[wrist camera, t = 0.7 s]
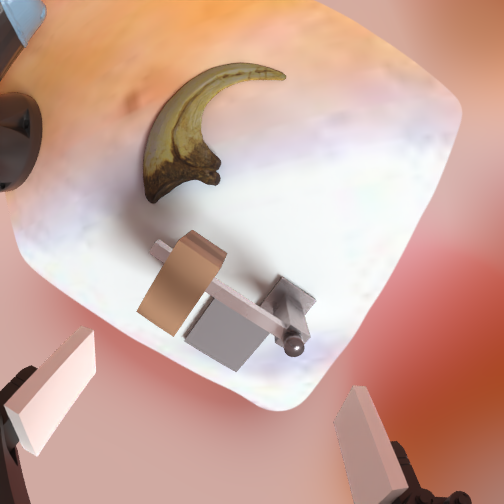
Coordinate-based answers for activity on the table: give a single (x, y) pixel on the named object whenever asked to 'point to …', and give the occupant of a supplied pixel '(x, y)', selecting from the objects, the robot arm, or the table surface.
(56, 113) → the table surface
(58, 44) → the table surface
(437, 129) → the table surface
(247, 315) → the grey lever handle
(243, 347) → the mat
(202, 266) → the tan brick
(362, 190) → the table surface
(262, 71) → the claw
